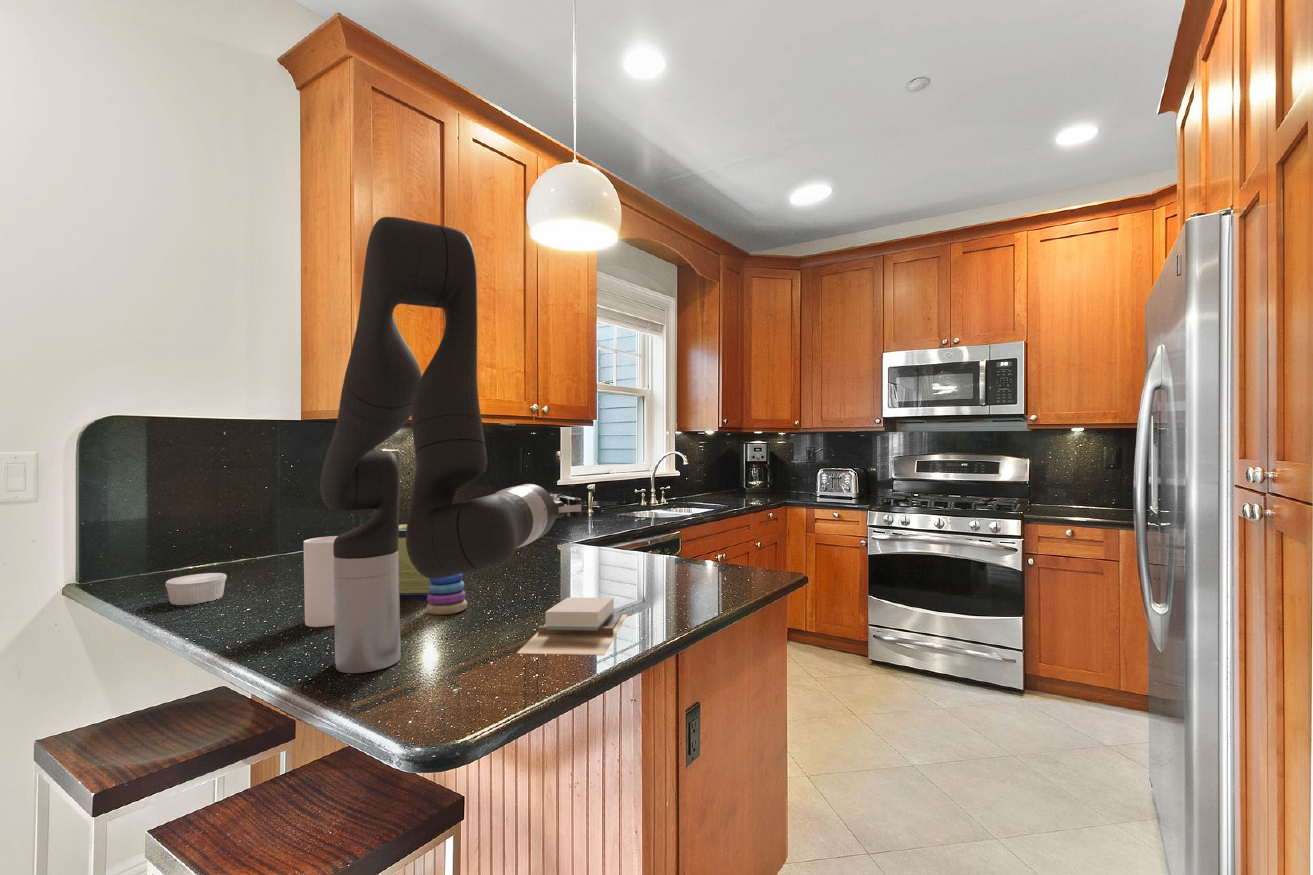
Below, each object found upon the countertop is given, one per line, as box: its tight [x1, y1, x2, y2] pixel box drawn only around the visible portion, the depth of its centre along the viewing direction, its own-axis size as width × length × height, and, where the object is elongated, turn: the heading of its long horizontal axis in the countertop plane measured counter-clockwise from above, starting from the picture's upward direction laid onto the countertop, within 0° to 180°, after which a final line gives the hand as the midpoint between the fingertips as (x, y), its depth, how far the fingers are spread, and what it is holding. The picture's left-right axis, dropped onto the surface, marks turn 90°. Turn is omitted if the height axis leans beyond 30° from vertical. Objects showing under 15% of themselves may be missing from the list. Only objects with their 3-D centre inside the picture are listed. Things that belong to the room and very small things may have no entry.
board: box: [516, 612, 628, 656], centre depth 106 cm, size 22×14×2 cm, turn 173°
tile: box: [544, 597, 615, 630], centre depth 109 cm, size 3×9×14 cm
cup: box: [303, 535, 339, 628], centre depth 120 cm, size 8×8×16 cm
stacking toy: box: [425, 573, 468, 616], centre depth 125 cm, size 8×8×19 cm
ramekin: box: [165, 572, 228, 605], centre depth 139 cm, size 11×11×5 cm
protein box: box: [398, 523, 431, 601], centre depth 140 cm, size 10×16×16 cm
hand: (555, 501), depth 95 cm, fingers closed
